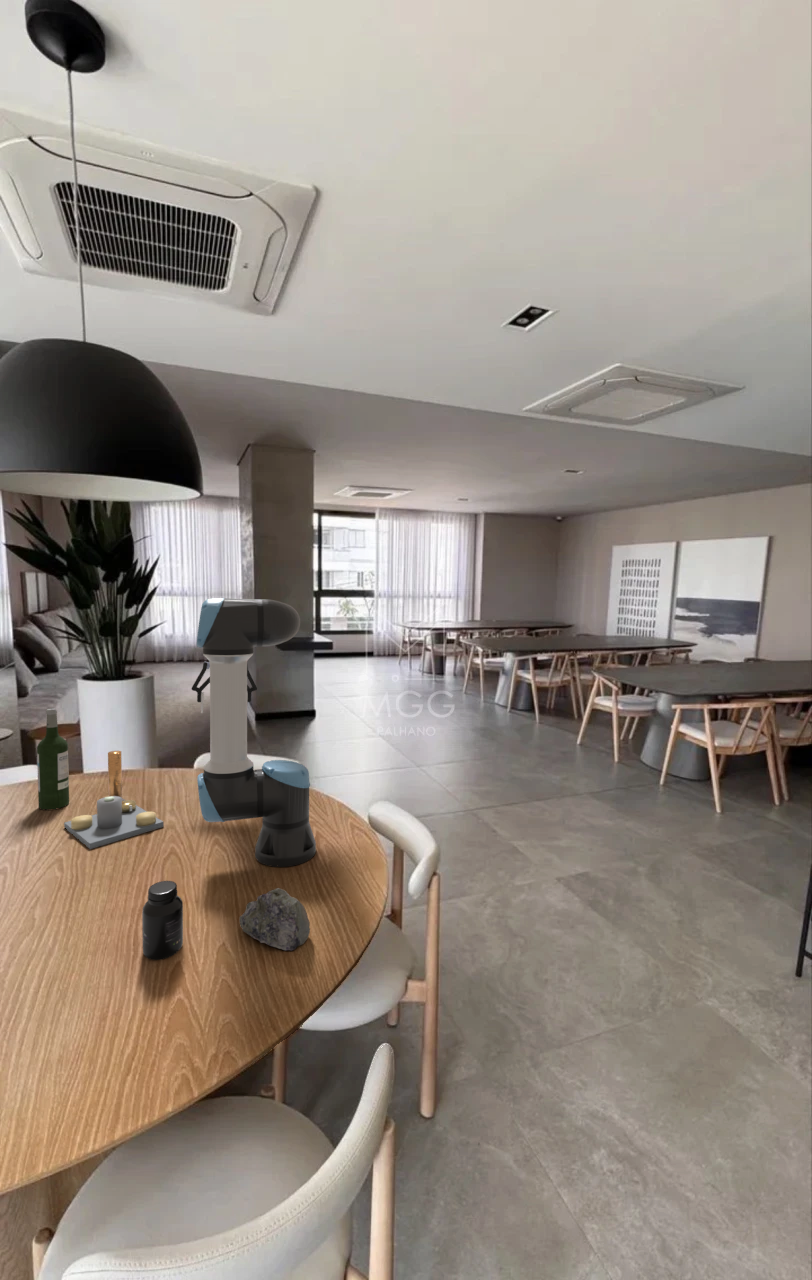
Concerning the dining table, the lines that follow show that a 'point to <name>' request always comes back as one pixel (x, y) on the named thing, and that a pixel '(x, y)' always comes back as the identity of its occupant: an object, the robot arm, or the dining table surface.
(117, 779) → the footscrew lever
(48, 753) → the wine bottle
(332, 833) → the dining table surface
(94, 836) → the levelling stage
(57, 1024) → the dining table surface
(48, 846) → the dining table surface
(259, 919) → the mineral rock
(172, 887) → the supplement bottle
